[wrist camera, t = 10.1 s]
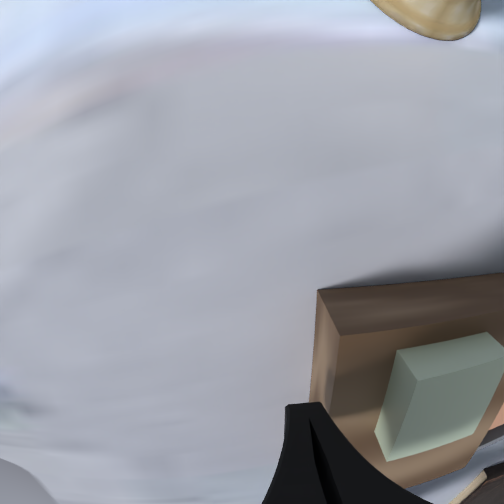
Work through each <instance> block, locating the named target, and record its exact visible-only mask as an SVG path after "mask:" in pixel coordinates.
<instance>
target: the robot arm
mask: <svg viewBox="0 0 504 504" xmlns="http://www.w3.org/2000/svg"><path fill="white" fill-rule="evenodd" d="M262 504H433V503H430V502H428V501H426V500H424V499H422V498H420V497H418V496H416V495H414V494H412V493H411V492H409V491H407V490H405V489H404V488H402V487H401V486H399V485H398V484H396V483H395V482H393V481H392V480H390V479H389V478H387V477H386V476H385V475H384V474H382V473H381V472H380V471H379V470H377V469H376V468H375V467H374V466H373V465H372V464H370V463H369V462H368V461H367V460H366V459H365V458H364V457H363V456H362V455H361V454H360V453H359V452H358V451H357V450H356V449H355V448H354V446H353V445H352V444H351V443H350V442H349V441H348V439H347V438H346V437H345V436H344V435H343V433H342V432H341V431H340V430H339V428H338V427H337V426H336V424H335V423H334V421H333V420H332V419H331V417H330V416H329V414H328V413H327V411H326V409H325V408H324V406H323V404H322V403H321V402H310V403H300V404H288V405H287V406H286V407H285V428H284V443H283V448H282V451H281V455H280V459H279V462H278V466H277V469H276V472H275V474H274V477H273V480H272V482H271V485H270V487H269V489H268V491H267V494H266V496H265V498H264V500H263V502H262Z"/></svg>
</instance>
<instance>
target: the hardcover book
mask: <svg viewBox="0 0 504 504" xmlns="http://www.w3.org/2000/svg"><path fill="white" fill-rule="evenodd" d="M449 504H504V462H503V463H501V464H498V465H495V466H492V467H489V468H485V469H483V471H482V472H481V473H480V474H479V475H478V476H477V477H476V478H475V479H474V480H473V481H472V482H471V483H470V484H469V485H468V486H467V487H466V488H465V489H464V490H463V491H462V492H461V493H460V494H459V495H458V496H457V497H456V498H454V499H453V500H452V501H451V502H450V503H449Z"/></svg>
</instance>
